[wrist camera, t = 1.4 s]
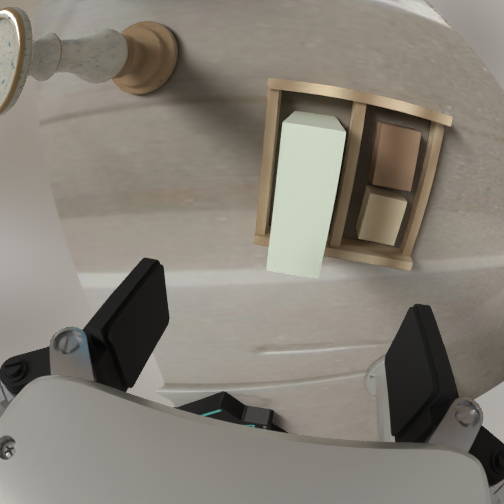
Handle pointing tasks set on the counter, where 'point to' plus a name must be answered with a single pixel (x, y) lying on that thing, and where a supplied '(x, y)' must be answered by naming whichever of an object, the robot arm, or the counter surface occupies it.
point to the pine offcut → (380, 215)
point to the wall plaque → (232, 411)
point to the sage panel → (305, 192)
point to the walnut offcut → (394, 156)
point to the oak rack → (350, 172)
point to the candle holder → (84, 56)
